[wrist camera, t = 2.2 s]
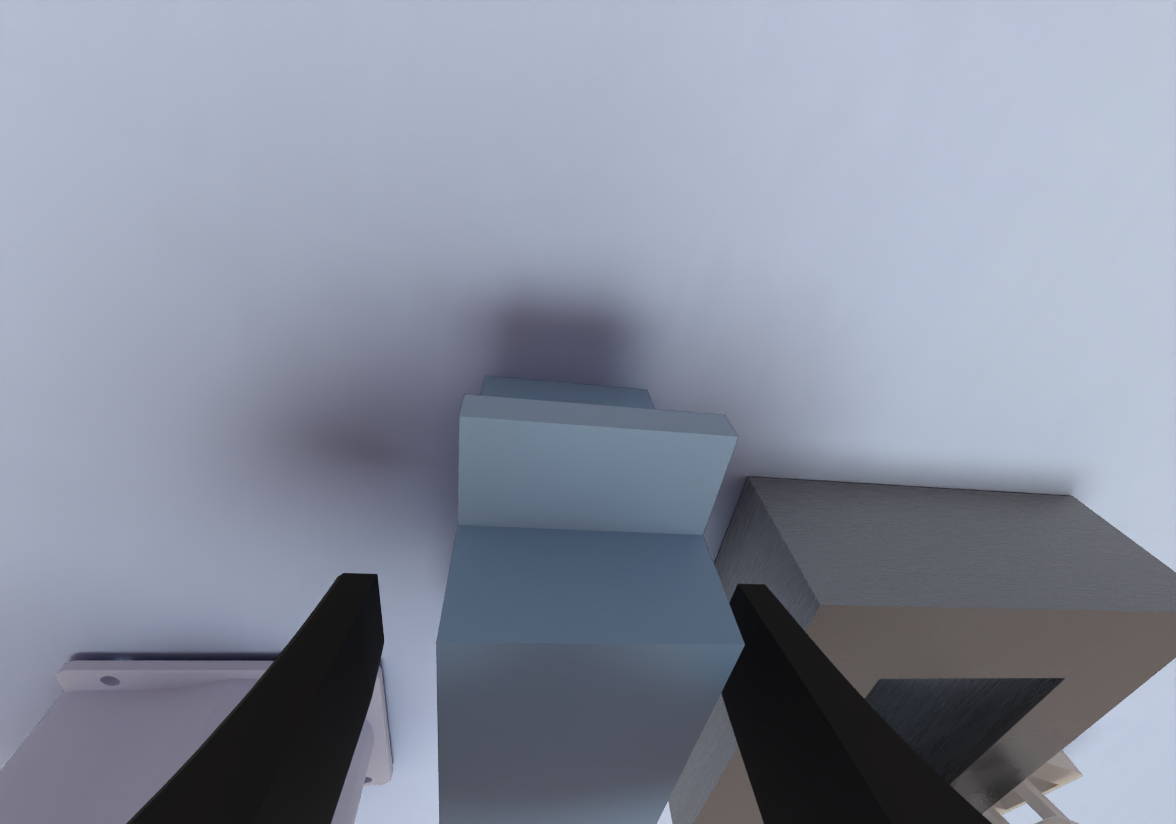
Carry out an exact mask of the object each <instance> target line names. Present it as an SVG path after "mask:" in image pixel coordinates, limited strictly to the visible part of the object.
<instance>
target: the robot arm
mask: <svg viewBox="0 0 1176 824" xmlns="http://www.w3.org/2000/svg"><path fill="white" fill-rule="evenodd" d="M729 604H730V607H731V610H732V612H733V615H734V617H735V620H736V623H737V625H738V628H739V631H740V633H741V636H742V638H743V641H744V644H745V646H744V648H743V650H742V652H741V654H740V656H739V658H738V660H737V662H736V664H735V666H734V668H733V670H732V672H731V674H730V676H729V678H728V680H727V682H726V684H725V686H724V688H723V690H722V692H721V693H722V697H723V700H724V703H725V707H726V710H727V713H728V716H729V719H730V722H731V725H732V728H733V732H734V735H735V738H736V741H737V744H738V747H739V750H740V753H741V756H742V759H743V762H744V765H745V768H746V771H747V774H748V777H749V780H750V783H751V786H752V789H753V792H754V795H755V798H756V801H757V805H758V808H759V811H760V814H761V817H762V820H763V823H764V824H992V823H991V822H990V821H989V820H988V819H987V818H985V817H984V816H983V815H982V814H981V813H980V812H979V811H978V810H977V809H975V808H974V807H973V806H972V805H971V804H970V803H969V802H968V801H967V800H965V799H964V798H963V797H962V796H961V795H960V794H959V793H958V792H957V791H956V790H955V789H954V788H953V787H952V786H951V785H950V784H948V783H947V782H946V781H945V780H944V779H943V778H942V777H941V776H940V775H939V774H938V773H937V772H936V771H935V770H934V769H933V768H931V767H930V766H929V765H928V764H927V763H926V762H925V761H924V760H923V759H922V758H921V757H920V756H919V755H918V754H917V753H916V752H915V751H914V750H913V749H912V748H911V747H910V746H909V745H908V744H907V743H906V742H905V741H904V740H903V739H902V738H901V737H900V736H899V735H898V734H897V733H896V732H895V731H894V730H893V728H892V727H891V726H890V725H889V724H888V723H887V722H886V721H885V720H884V719H883V718H882V717H881V716H880V715H879V714H878V713H877V712H876V711H875V710H874V709H873V708H872V707H871V705H870V704H869V703H868V702H867V701H866V700H865V699H864V698H863V697H862V696H861V695H860V694H859V692H858V691H857V690H856V689H855V688H854V687H853V686H852V685H851V684H850V683H849V681H848V680H847V679H846V678H845V677H844V676H843V675H842V674H841V672H840V671H839V670H838V669H837V668H836V667H835V666H834V665H833V663H832V662H831V661H830V660H829V659H828V658H827V656H826V655H825V654H824V653H823V652H822V651H821V650H820V648H819V647H818V646H817V645H816V644H815V643H814V641H813V640H812V639H811V638H810V637H809V635H808V634H807V633H806V632H805V631H804V630H803V628H802V627H801V626H800V625H799V624H798V623H797V621H796V620H795V619H794V618H793V617H792V615H791V614H790V613H789V612H788V611H787V610H786V608H785V607H784V606H783V605H782V604H781V602H780V601H779V600H778V599H777V598H776V597H775V595H774V594H773V593H772V592H771V591H770V590H769V588H768V587H767V586H766V585H765V584H737V586H736V589H735V591H734V593H733V596H732V598H731V600H730V602H729ZM383 645H384V633H383V624H382V614H381V604H380V595H379V585H378V575H377V574H355V573H343V574H341V575H340V576H339V577H337V579H336V580H335V582H334V583H333V584H332V586H331V587H330V589H329V590H328V592H327V593H326V594H325V596H324V597H323V598H322V600H321V601H320V603H319V604H318V605H317V607H316V608H315V609H314V611H313V612H312V613H311V615H310V616H309V617H308V619H307V620H306V621H305V623H304V624H303V625H302V627H301V628H300V629H299V630H298V632H297V633H296V634H295V636H294V637H293V638H292V639H291V641H290V642H289V643H288V645H287V646H286V647H285V648H284V649H283V651H282V652H281V653H280V654H279V656H278V657H277V658H276V659H275V660H274V661H190V660H76V661H70V662H68V663H65V664H64V665H63V667H62V668H61V669H60V670H59V672H58V673H57V674H56V676H55V677H56V680H57V682H58V683H59V685H60V686H61V688H62V689H63V691H64V692H63V693H62V694H61V696H60V697H59V698H58V700H57V701H56V702H55V703H54V705H53V706H52V707H51V708H50V710H49V711H48V712H47V713H46V715H45V716H44V717H43V718H42V720H41V721H40V722H39V723H38V725H37V726H36V727H35V728H34V730H33V731H32V732H31V734H30V735H29V736H28V737H27V739H26V740H25V741H24V742H23V744H22V745H21V746H20V747H19V749H18V750H17V751H16V752H15V754H14V755H13V756H12V757H11V759H10V760H9V761H8V762H7V764H6V765H5V766H4V767H3V769H2V770H1V771H0V824H354V821H355V817H356V813H357V809H358V805H359V801H360V797H361V793H362V789H363V785H381V784H385V783H387V782H389V781H390V780H391V777H392V772H393V765H392V756H391V747H390V739H389V730H388V721H387V712H386V703H385V694H384V686H383V677H382V670H381V667H380V666H379V664H380V659H381V655H382V650H383Z"/></svg>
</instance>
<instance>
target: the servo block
mask: <svg viewBox="0 0 1176 824" xmlns="http://www.w3.org/2000/svg"><path fill="white" fill-rule="evenodd" d="M737 439H738V435H737V434H736V432H735V430H734V429H733V427H732V425H731V424H730V422H729V420H728V419H727V417H726V415H719V414H706V413H694V412H681V411H668V410H656V409H654V406H653V404H652V401H651V399H650V396H649V393H648V391H647V390H645V389H633V388H621V387H610V386H598V385H586V384H575V383H563V382H551V381H539V380H528V379H516V378H504V377H492V376H485V377H484V383H483V388H482V394H481V396H479V395H467V394H464V399H463V403H462V407H461V411H460V415H459V467H458V526H457V531H456V537H455V542H454V548H453V553H452V559H451V564H450V570H449V575H448V581H447V586H446V592H445V597H444V603H443V608H442V614H441V619H440V625H439V630H438V636H437V641H436V656H437V713H438V771H439V824H657V822H658V820H659V818H660V816H661V814H662V812H663V810H664V808H665V806H666V804H667V801H668V799H669V797H670V795H671V793H672V791H673V789H674V787H675V785H676V783H677V781H678V779H679V777H680V775H681V773H682V771H683V769H684V767H685V765H686V763H687V761H688V759H689V757H690V755H691V753H692V751H693V749H694V747H695V745H696V743H697V741H698V739H699V737H700V735H701V733H702V731H703V729H704V727H705V725H706V723H707V721H708V718H709V716H710V714H711V712H712V710H713V708H714V706H715V704H716V702H717V700H718V698H719V696H720V694H721V692H722V690H723V688H724V686H725V684H726V682H727V680H728V678H729V676H730V674H731V672H732V670H733V668H734V666H735V664H736V662H737V660H738V658H739V656H740V654H741V652H742V650H743V648H744V646H745V644H744V641H743V638H742V636H741V633H740V631H739V628H738V625H737V623H736V620H735V617H734V615H733V612H732V610H731V607H730V604H729V602H728V599H727V597H726V594H725V591H724V589H723V586H722V584H721V581H720V578H719V576H718V573H717V571H716V568H715V565H714V563H713V560H712V558H711V555H710V552H709V550H708V547H707V545H706V542H705V539H704V537H703V533H704V531H705V528H706V525H707V522H708V519H709V517H710V514H711V511H712V508H713V506H714V503H715V500H716V497H717V494H718V492H719V489H720V486H721V483H722V480H723V478H724V475H725V472H726V469H727V467H728V464H729V461H730V458H731V455H732V453H733V450H734V447H735V444H736V441H737Z"/></svg>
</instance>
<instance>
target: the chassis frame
mask: <svg viewBox="0 0 1176 824" xmlns="http://www.w3.org/2000/svg"><path fill="white" fill-rule="evenodd" d="M714 565H715V568H716V571H717V573H718V576H719V578H720V581H721V584H722V586H723V589H724V591H725V594H726V597H727V599H728V602H730V600H731V598H732V596H733V593H734V591H735V589H736V586H737V584H765V585H766V586H767V587H768V588H769V590H770V591H771V592H772V593H773V594H774V595H775V597H776V598H777V599H778V600H779V601H780V602H781V604H782V605H783V606H784V607H785V608H786V610H787V611H788V612H789V613H790V614H791V615H792V617H793V618H794V619H795V620H796V621H797V623H798V624H799V625H800V626H801V627H802V628H803V630H804V631H805V632H806V633H807V634H808V635H809V637H810V638H811V639H812V640H813V641H814V643H815V644H816V645H817V646H818V647H819V648H820V650H821V651H822V652H823V653H824V654H825V655H826V656H827V658H828V659H829V660H830V661H831V662H832V663H833V665H834V666H835V667H836V668H837V669H838V670H839V671H840V672H841V674H842V675H843V676H844V677H845V678H846V679H847V680H848V681H849V683H850V684H851V685H852V686H853V687H854V688H855V689H856V690H857V691H858V692H859V694H860V695H861V696H862V697H863V698H864V699H865V700H866V701H867V702H868V703H869V704H870V705H871V707H872V708H873V709H874V710H875V711H876V712H877V713H878V714H879V715H880V716H881V717H882V718H883V719H884V720H885V721H886V722H887V723H888V724H889V725H890V726H891V727H892V728H893V730H894V731H895V732H896V733H897V734H898V735H899V736H900V737H901V738H902V739H903V740H904V741H905V742H906V743H907V744H908V745H909V746H910V747H911V748H912V749H913V750H914V751H915V752H916V753H917V754H918V755H919V756H920V757H921V758H922V759H923V760H924V761H925V762H926V763H927V764H928V765H929V766H930V767H931V768H933V769H934V770H935V771H936V772H937V773H938V774H939V775H940V776H941V777H942V778H943V779H944V780H945V781H946V782H947V783H948V784H950V785H951V786H952V787H953V788H954V789H955V790H956V791H957V792H958V793H959V794H960V795H961V796H962V797H963V798H964V799H965V800H967V801H968V802H969V803H970V804H971V805H972V806H973V807H974V808H975V809H977V810H978V811H979V812H980V813H981V814H983V813H984V812H985V811H987V810H988V809H989V808H990V807H992V806H993V805H994V804H995V803H997V802H998V801H999V800H1000V799H1001V798H1003V797H1004V796H1005V795H1006V794H1008V793H1009V792H1010V791H1011V790H1013V789H1014V788H1015V787H1016V786H1018V785H1019V784H1020V783H1021V782H1022V781H1024V780H1025V779H1026V778H1027V777H1029V776H1030V775H1031V774H1032V773H1034V772H1035V771H1036V770H1037V769H1039V768H1040V767H1041V766H1042V765H1043V764H1045V763H1046V762H1047V761H1048V760H1050V759H1051V758H1052V757H1053V756H1055V755H1056V754H1057V753H1058V752H1060V751H1061V750H1062V749H1063V748H1064V747H1066V746H1067V745H1068V744H1069V743H1071V742H1072V741H1073V740H1074V739H1076V738H1077V737H1078V736H1079V735H1081V734H1082V733H1083V732H1084V731H1085V730H1087V729H1088V728H1089V727H1090V726H1092V725H1093V724H1094V723H1095V722H1097V721H1098V720H1099V719H1100V718H1102V717H1103V716H1104V715H1105V714H1106V713H1108V712H1109V711H1110V710H1111V709H1113V708H1114V707H1115V706H1116V705H1118V704H1119V703H1120V702H1121V701H1123V700H1124V699H1125V698H1126V697H1127V696H1129V695H1130V694H1131V693H1132V692H1134V691H1135V690H1136V689H1137V688H1139V687H1140V686H1141V685H1142V684H1144V683H1145V682H1146V681H1147V680H1148V679H1150V678H1151V677H1152V676H1153V675H1155V674H1156V673H1157V672H1158V671H1160V670H1161V669H1162V668H1163V667H1165V666H1166V665H1167V664H1168V663H1169V662H1171V661H1172V660H1173V659H1174V658H1176V572H1174V571H1173V570H1172V569H1170V568H1169V567H1167V566H1166V565H1165V564H1163V563H1162V562H1161V561H1159V560H1158V559H1157V558H1155V557H1154V556H1153V555H1151V554H1150V553H1149V552H1147V551H1146V550H1145V549H1143V548H1142V547H1141V546H1139V545H1138V544H1136V543H1135V542H1134V541H1132V540H1131V539H1130V538H1128V537H1127V536H1126V535H1124V534H1123V533H1122V532H1120V531H1119V530H1118V529H1116V528H1115V527H1114V526H1112V525H1111V524H1109V523H1108V522H1107V521H1105V520H1104V519H1103V518H1101V517H1100V516H1099V515H1097V514H1096V513H1095V512H1093V511H1092V510H1091V509H1089V508H1088V507H1087V506H1085V505H1084V504H1083V503H1081V502H1080V501H1078V500H1077V499H1076V498H1074V497H1073V496H1057V495H1041V494H1024V493H1008V492H991V491H975V490H958V489H942V488H925V487H908V486H892V485H875V484H859V483H842V482H826V481H809V480H792V479H776V478H759V477H748V479H747V482H746V484H745V487H744V489H743V492H742V494H741V497H740V500H739V502H738V505H737V507H736V510H735V512H734V515H733V518H732V520H731V523H730V525H729V528H728V530H727V533H726V535H725V538H724V541H723V543H722V546H721V548H720V551H719V553H718V556H717V558H716V561H715V564H714ZM668 801H669V807H670V812H671V817H672V823H673V824H764V823H763V820H762V817H761V814H760V811H759V808H758V805H757V801H756V798H755V795H754V792H753V789H752V786H751V783H750V780H749V777H748V774H747V771H746V768H745V765H744V762H743V759H742V756H741V753H740V750H739V747H738V744H737V741H736V738H735V735H734V732H733V728H732V725H731V722H730V719H729V716H728V713H727V710H726V707H725V703H724V700H723V697H722V693H721V694H720V696H719V698H718V700H717V702H716V704H715V706H714V708H713V710H712V712H711V714H710V716H709V718H708V721H707V723H706V725H705V727H704V729H703V731H702V733H701V735H700V737H699V739H698V741H697V743H696V745H695V747H694V749H693V751H692V753H691V755H690V757H689V759H688V761H687V763H686V765H685V767H684V769H683V771H682V773H681V775H680V777H679V779H678V781H677V783H676V785H675V787H674V789H673V791H672V793H671V795H670V797H669V799H668Z"/></svg>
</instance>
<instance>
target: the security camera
mask: <svg viewBox="0 0 1176 824" xmlns="http://www.w3.org/2000/svg"><path fill="white" fill-rule="evenodd" d="M1080 777H1082V774H1081V772H1080V771H1079V770H1078V769H1077V768H1076V766H1075V765H1074V764H1073V763H1072V761H1071V760H1070V759H1069V758H1068V756H1067V755H1066V754H1065V753H1064V751H1063V750H1061V751H1060V752H1058V753H1057V754H1056V755H1055V756H1053V757H1052V758H1051V759H1050V760H1048V761H1047V762H1046V763H1045V764H1043V765H1042V766H1041V767H1040V768H1039V769H1037V770H1036V771H1035V772H1034V773H1032V774H1031V775H1030V776H1029V777H1027V778H1026V779H1025V780H1024V781H1022V782H1021V783H1020V784H1019V785H1018V786H1016V787H1015V788H1014V789H1013V790H1011V791H1010V792H1009V793H1008V794H1006V795H1005V796H1004V797H1003V798H1001V799H1000V800H999V801H998V802H997V803H995V804H994V805H993V806H992V807H990V808H989V809H988V810H987V811H985V812H984V813H983V814H982V815H983V816H984V817H985V818H987V819H988V820H989V821H990V822H991V823H992V824H1009V823H1008V822H1007V821H1006V820H1005V819H1004V818H1003V817H1002V816H1001V815H1003V814H1005V813H1007V812H1009V811H1011V810H1013V809H1015V808H1017V807H1020V806H1022V805H1024V804H1026V803H1027V804H1028V805H1029V806H1030V807H1031V808H1032V809H1033V810H1034V811H1035V812H1036V813H1038V814H1039V815H1040V816H1041V817H1042V818H1043V819H1044V820H1042V821H1039V822H1037V823H1035V824H1078V823H1076V822H1074V821H1071V820H1069V819H1068V818H1067V817H1066V816H1065V815H1064V814H1063V813H1062V812H1061V811H1060V810H1059V809H1058V808H1057V807H1056V806H1055V805H1054V804H1053V803H1052V802H1051V801H1050V800H1048V799H1047V798H1046V797H1045V796H1044V795H1045V794H1047V793H1049V792H1051V791H1053V790H1055V789H1057V788H1059V787H1061V786H1063V785H1066V784H1068V783H1070V782H1072V781H1074V780H1076V779H1078V778H1080Z"/></svg>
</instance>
